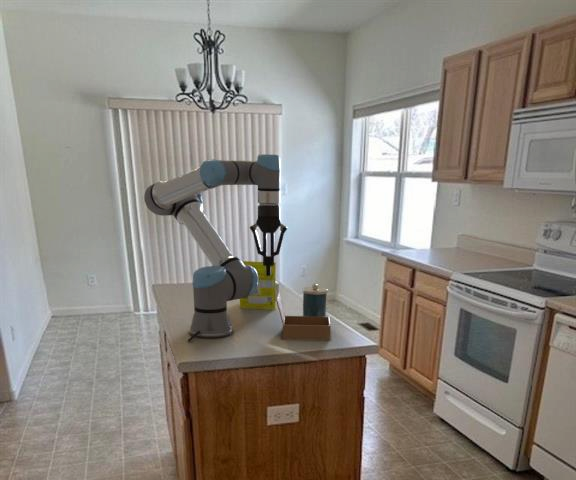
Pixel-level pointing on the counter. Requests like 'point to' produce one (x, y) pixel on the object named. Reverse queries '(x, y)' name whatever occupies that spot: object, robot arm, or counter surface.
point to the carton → (306, 327)
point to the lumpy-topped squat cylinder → (276, 289)
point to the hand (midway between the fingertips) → (268, 275)
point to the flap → (280, 307)
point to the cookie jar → (314, 301)
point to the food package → (261, 288)
